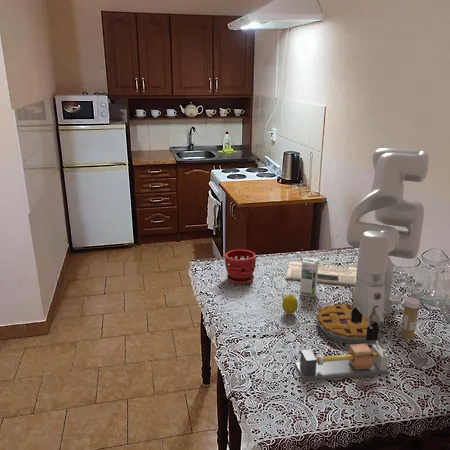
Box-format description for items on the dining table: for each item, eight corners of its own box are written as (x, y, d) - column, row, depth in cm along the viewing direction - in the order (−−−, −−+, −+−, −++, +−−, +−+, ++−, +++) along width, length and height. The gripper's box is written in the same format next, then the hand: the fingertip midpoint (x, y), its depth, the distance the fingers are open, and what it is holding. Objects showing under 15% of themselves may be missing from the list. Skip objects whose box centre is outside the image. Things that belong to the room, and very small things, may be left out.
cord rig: (376, 357, 132) (379, 338, 130) (389, 374, 125) (392, 353, 123) (295, 364, 129) (296, 344, 126) (303, 382, 121) (305, 361, 119)
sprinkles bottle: (414, 340, 141) (420, 304, 137) (400, 338, 143) (405, 302, 138) (413, 333, 145) (419, 297, 141) (399, 331, 147) (404, 295, 142)
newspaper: (286, 280, 185) (286, 274, 184) (289, 263, 203) (290, 257, 202) (375, 289, 177) (376, 283, 176) (371, 271, 195) (371, 265, 194)
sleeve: (363, 357, 130) (365, 343, 128) (371, 368, 125) (373, 353, 123) (348, 359, 129) (349, 344, 127) (355, 369, 124) (357, 354, 123)
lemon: (296, 319, 154) (298, 299, 151) (281, 317, 155) (282, 297, 152) (297, 311, 159) (298, 292, 156) (282, 309, 160) (283, 290, 157)
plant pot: (260, 278, 186) (261, 252, 182) (245, 289, 176) (246, 262, 172) (234, 271, 193) (235, 246, 189) (218, 281, 182) (218, 255, 178)
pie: (308, 313, 158) (309, 301, 156) (366, 312, 159) (367, 300, 158) (325, 348, 137) (326, 335, 136) (391, 346, 138) (393, 333, 137)
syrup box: (299, 295, 171) (301, 261, 167) (302, 289, 176) (304, 256, 172) (313, 297, 169) (316, 264, 164) (316, 291, 174) (319, 258, 170)
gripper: (399, 288, 110) (391, 346, 115) (368, 263, 127) (362, 315, 132) (372, 290, 109) (365, 348, 114) (344, 264, 126) (339, 316, 131)
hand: (363, 330), depth 123 cm, fingers open, 9 cm apart
